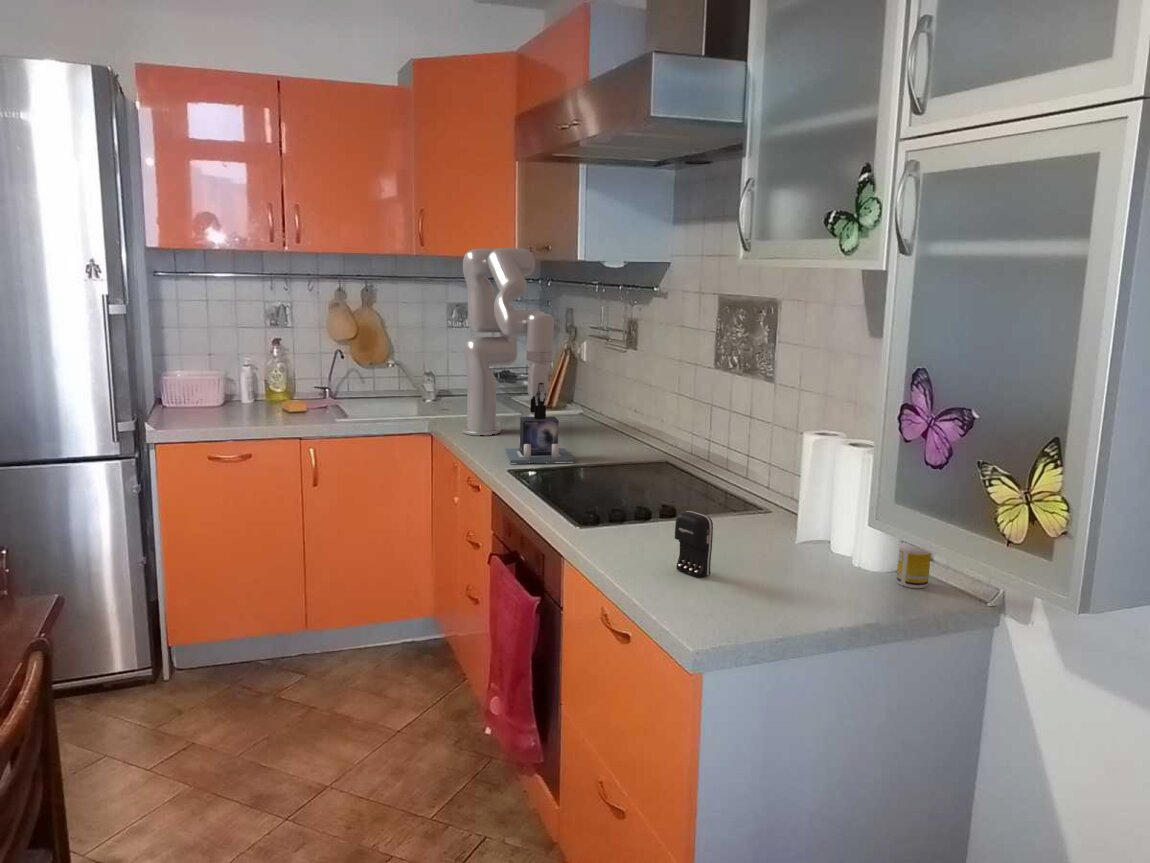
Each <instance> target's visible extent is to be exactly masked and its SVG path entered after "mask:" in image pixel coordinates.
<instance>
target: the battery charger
mask: <svg viewBox="0 0 1150 863" xmlns="http://www.w3.org/2000/svg"><path fill="white" fill-rule="evenodd" d="M675 519H676V520H675V525H674V526H675V527H674V528H675V529H674V540H678V542H679V556H678V559H677V563H676V569H677V571H679V572H682V573H684V574H687V575H689V576H693V577H696V578H703V577H708V576H710V575H711V560H712V550H713V549H712V548H713V533H714V531H713V529H714V523H713V520H712V518H711V517H710V516H708V515H706V514H703V513H700V512H697V511H693V510H688V511H685V512H681V513H679V514H678V515H677V516H676V518H675Z"/></svg>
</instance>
